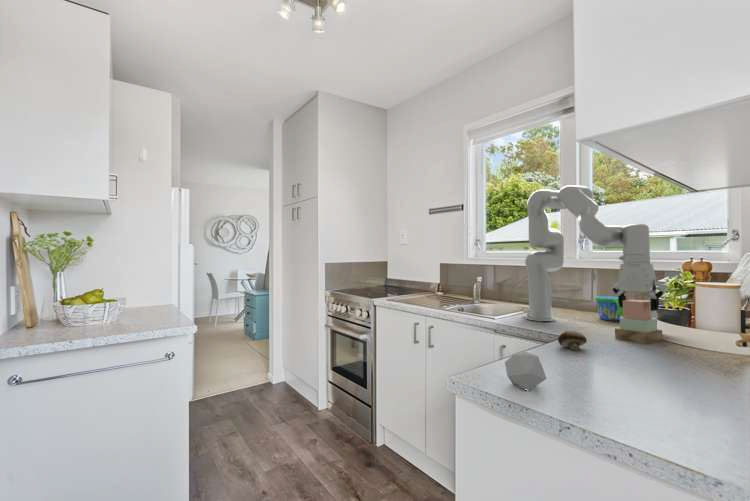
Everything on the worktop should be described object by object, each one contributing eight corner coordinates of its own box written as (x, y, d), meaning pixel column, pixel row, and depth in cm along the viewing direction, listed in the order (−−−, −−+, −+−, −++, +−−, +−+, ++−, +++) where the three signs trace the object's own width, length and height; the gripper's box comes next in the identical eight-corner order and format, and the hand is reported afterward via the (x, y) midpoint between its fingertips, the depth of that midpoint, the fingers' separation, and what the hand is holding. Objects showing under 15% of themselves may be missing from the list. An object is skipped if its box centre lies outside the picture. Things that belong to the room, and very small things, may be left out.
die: (555, 395, 77) (548, 353, 83) (535, 383, 73) (529, 339, 79) (520, 399, 82) (516, 359, 88) (500, 388, 78) (496, 347, 84)
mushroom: (584, 343, 105) (578, 324, 109) (557, 350, 110) (552, 331, 113) (593, 352, 110) (586, 333, 114) (567, 358, 114) (561, 339, 118)
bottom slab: (615, 339, 124) (614, 328, 124) (630, 336, 129) (629, 325, 129) (647, 345, 115) (647, 333, 115) (662, 341, 120) (662, 330, 120)
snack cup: (632, 322, 151) (631, 299, 151) (606, 322, 152) (605, 299, 152) (612, 316, 166) (612, 295, 166) (589, 316, 168) (588, 295, 168)
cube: (623, 317, 123) (622, 300, 123) (631, 316, 126) (631, 299, 126) (642, 320, 118) (642, 302, 118) (651, 318, 121) (650, 301, 121)
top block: (620, 329, 123) (619, 317, 123) (631, 326, 127) (630, 315, 127) (646, 333, 116) (646, 321, 117) (657, 330, 120) (657, 318, 121)
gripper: (604, 259, 128) (605, 306, 128) (660, 259, 113) (662, 312, 112) (615, 259, 132) (617, 305, 131) (671, 259, 116) (673, 310, 116)
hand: (638, 308), depth 122 cm, fingers open, 9 cm apart
